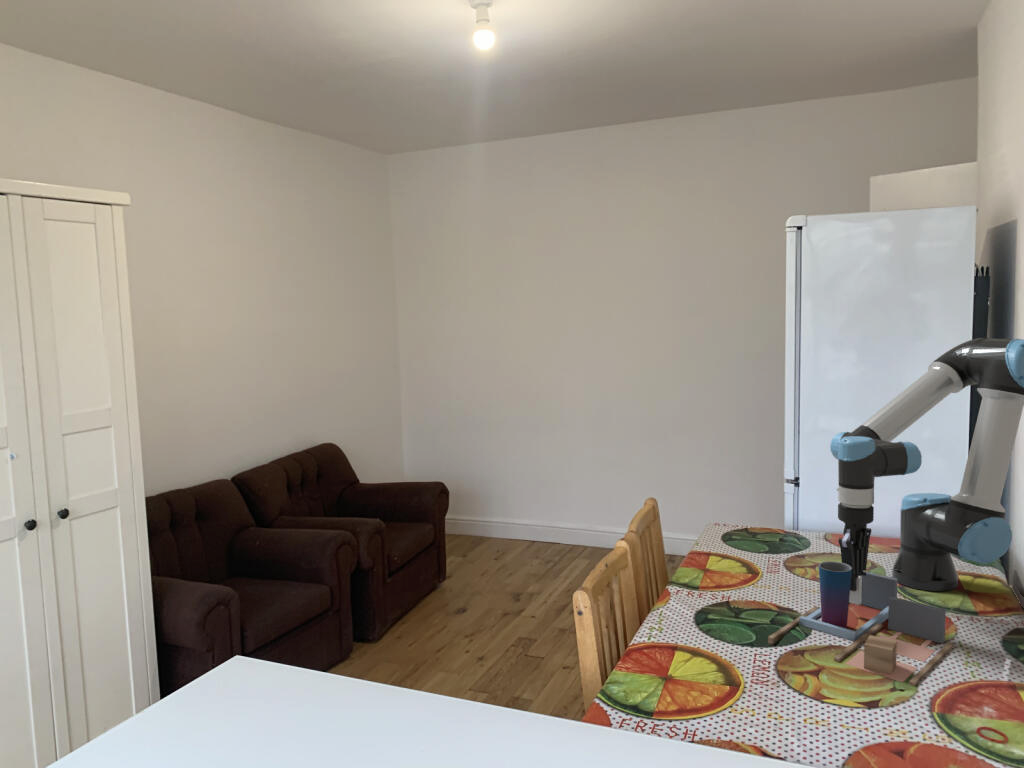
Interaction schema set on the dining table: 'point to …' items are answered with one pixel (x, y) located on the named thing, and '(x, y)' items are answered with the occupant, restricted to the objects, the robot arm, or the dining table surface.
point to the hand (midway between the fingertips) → (854, 602)
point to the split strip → (912, 622)
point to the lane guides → (859, 641)
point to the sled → (873, 595)
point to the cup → (835, 592)
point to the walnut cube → (880, 654)
